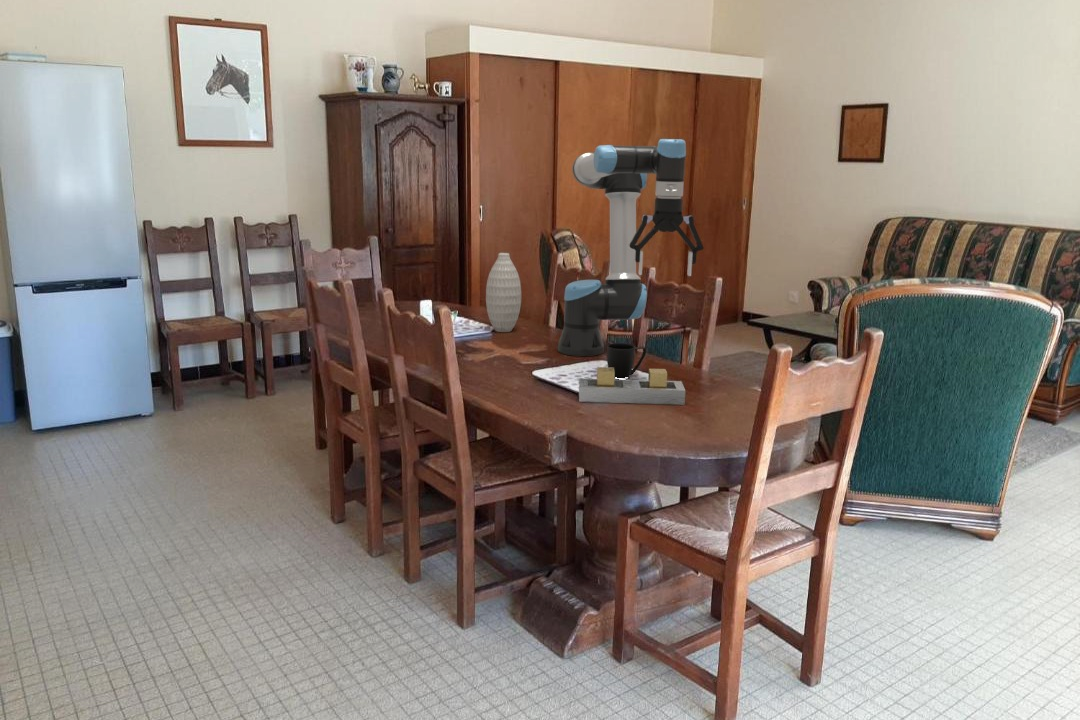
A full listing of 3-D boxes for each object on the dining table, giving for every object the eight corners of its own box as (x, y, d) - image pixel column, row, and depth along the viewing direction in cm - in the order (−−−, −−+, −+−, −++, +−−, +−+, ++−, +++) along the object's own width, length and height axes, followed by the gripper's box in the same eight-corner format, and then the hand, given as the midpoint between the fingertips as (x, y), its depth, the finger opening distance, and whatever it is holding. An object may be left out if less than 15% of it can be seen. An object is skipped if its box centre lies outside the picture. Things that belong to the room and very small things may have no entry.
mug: (650, 379, 252) (651, 348, 249) (611, 381, 248) (612, 350, 246) (639, 372, 259) (640, 341, 257) (601, 374, 256) (603, 343, 254)
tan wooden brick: (596, 395, 235) (597, 367, 233) (612, 395, 235) (613, 367, 233) (596, 400, 231) (597, 371, 229) (613, 400, 231) (614, 371, 229)
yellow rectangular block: (647, 396, 234) (648, 368, 233) (663, 397, 234) (665, 369, 232) (648, 401, 230) (650, 372, 228) (665, 402, 230) (667, 373, 228)
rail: (578, 392, 237) (579, 378, 236) (680, 395, 236) (681, 381, 236) (579, 401, 229) (579, 387, 228) (684, 404, 228) (685, 390, 227)
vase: (506, 325, 322) (507, 250, 315) (527, 331, 312) (528, 254, 306) (478, 329, 314) (479, 252, 307) (499, 335, 305) (500, 256, 298)
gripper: (623, 197, 231) (620, 275, 236) (717, 199, 230) (711, 277, 235) (622, 195, 238) (619, 271, 243) (712, 197, 237) (707, 273, 242)
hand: (664, 274), depth 239 cm, fingers open, 13 cm apart
